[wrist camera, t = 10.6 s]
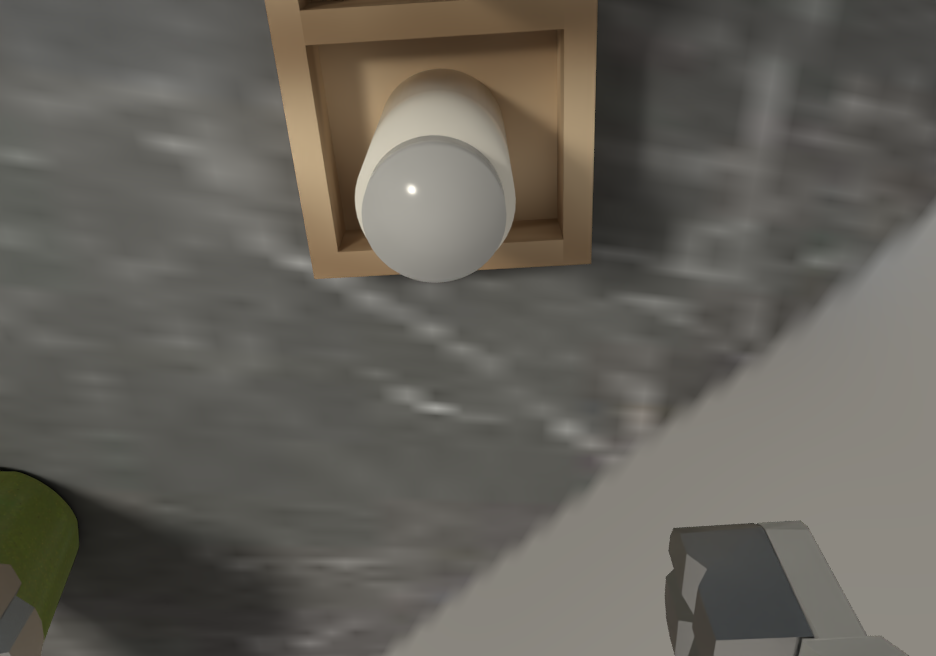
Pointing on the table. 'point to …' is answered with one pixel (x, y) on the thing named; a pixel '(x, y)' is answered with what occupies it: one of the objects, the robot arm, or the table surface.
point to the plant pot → (37, 540)
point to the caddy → (430, 47)
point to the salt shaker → (437, 178)
